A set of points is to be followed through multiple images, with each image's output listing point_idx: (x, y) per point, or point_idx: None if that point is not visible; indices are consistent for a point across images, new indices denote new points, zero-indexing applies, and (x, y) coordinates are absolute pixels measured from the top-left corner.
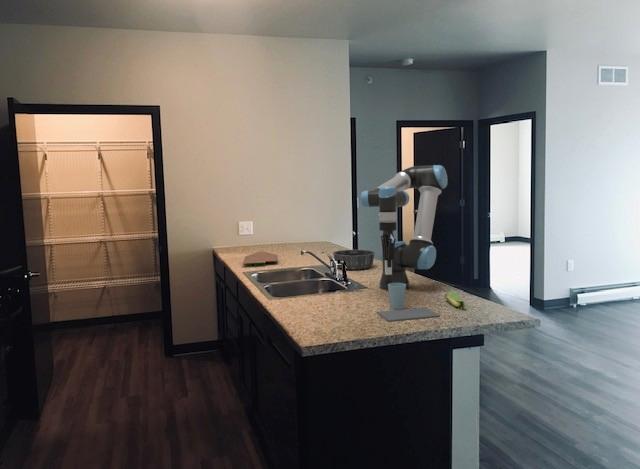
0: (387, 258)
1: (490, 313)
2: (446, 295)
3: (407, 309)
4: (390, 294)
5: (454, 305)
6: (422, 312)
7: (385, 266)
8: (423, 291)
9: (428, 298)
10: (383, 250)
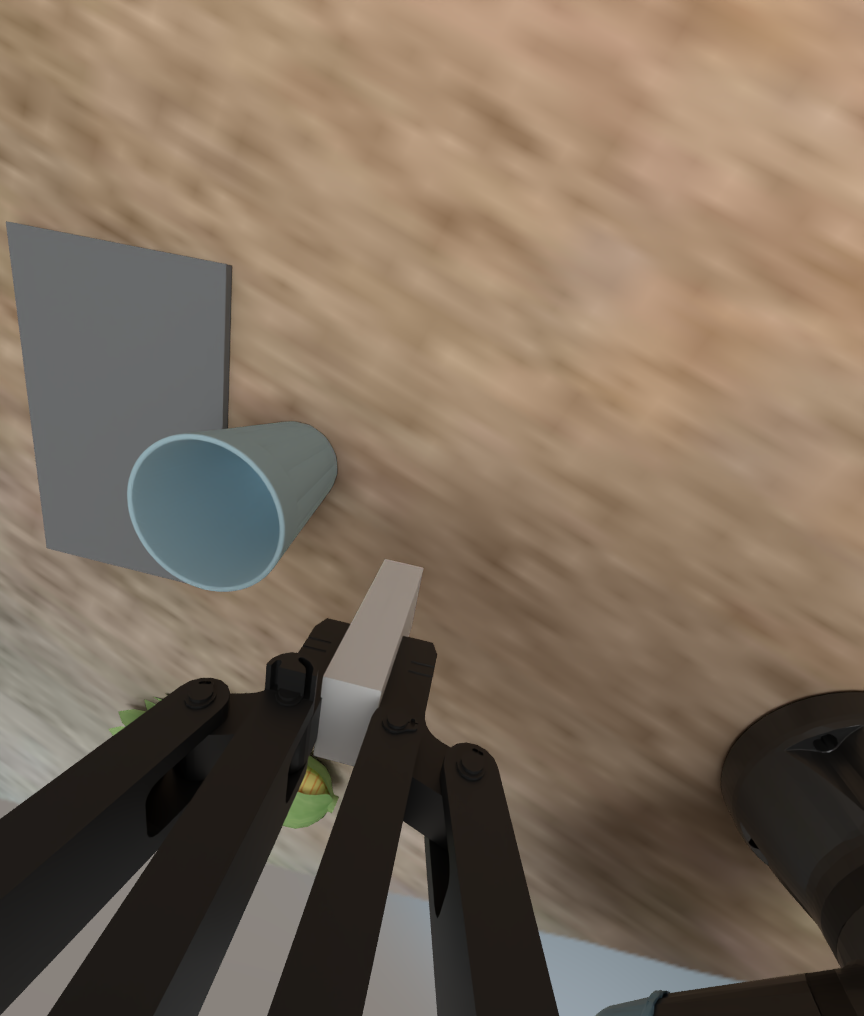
0: (258, 701)
1: (61, 741)
2: (310, 783)
3: None
4: (234, 428)
5: None
6: (122, 510)
7: (381, 617)
8: (592, 815)
9: None
10: (462, 904)
